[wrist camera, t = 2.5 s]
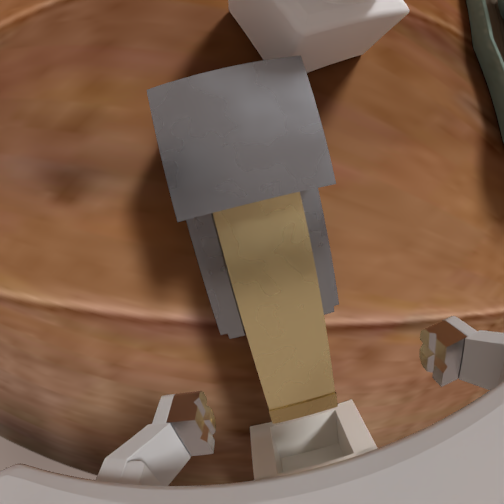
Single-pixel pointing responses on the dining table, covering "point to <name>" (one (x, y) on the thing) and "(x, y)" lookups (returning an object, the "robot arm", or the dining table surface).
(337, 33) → the medicine bottle
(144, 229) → the dining table surface
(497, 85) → the tea set
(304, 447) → the socket
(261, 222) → the olive rectangular bar
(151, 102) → the sleeve
